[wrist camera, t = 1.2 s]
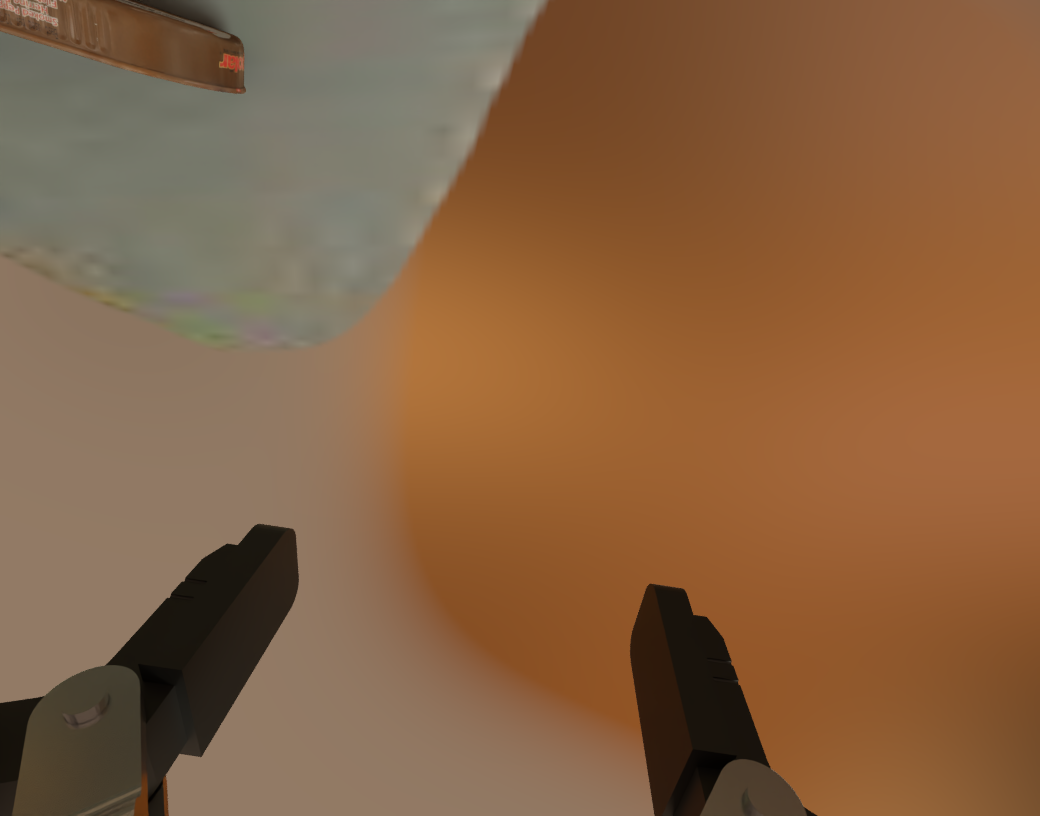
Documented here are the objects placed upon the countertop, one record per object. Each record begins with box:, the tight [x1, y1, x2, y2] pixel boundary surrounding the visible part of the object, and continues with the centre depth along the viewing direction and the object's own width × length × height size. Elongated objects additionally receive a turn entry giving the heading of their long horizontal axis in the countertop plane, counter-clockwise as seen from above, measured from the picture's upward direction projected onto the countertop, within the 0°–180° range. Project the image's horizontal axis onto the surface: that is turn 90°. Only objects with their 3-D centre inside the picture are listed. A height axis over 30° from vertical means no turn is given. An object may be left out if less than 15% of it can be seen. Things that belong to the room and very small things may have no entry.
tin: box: [0, 0, 246, 94], centre depth 25 cm, size 15×3×8 cm, turn 74°
